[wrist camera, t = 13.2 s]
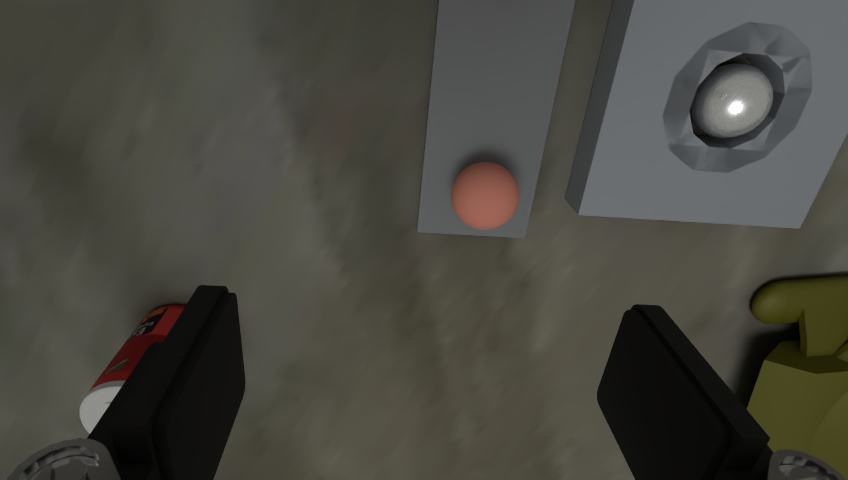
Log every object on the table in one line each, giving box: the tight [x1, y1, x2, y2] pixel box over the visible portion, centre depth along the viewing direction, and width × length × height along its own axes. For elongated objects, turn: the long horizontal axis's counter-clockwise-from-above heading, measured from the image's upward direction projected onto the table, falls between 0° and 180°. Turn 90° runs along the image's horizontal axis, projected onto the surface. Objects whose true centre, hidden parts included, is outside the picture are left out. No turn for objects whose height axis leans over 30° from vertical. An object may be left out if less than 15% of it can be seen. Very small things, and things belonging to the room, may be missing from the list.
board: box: [565, 0, 848, 228], centre depth 38 cm, size 20×20×4 cm
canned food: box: [80, 305, 185, 433], centre depth 43 cm, size 8×8×11 cm
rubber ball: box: [451, 162, 519, 230], centre depth 40 cm, size 6×6×6 cm
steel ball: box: [689, 64, 773, 138], centre depth 37 cm, size 6×6×6 cm
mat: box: [417, 0, 575, 238], centre depth 38 cm, size 28×10×1 cm, turn 175°
